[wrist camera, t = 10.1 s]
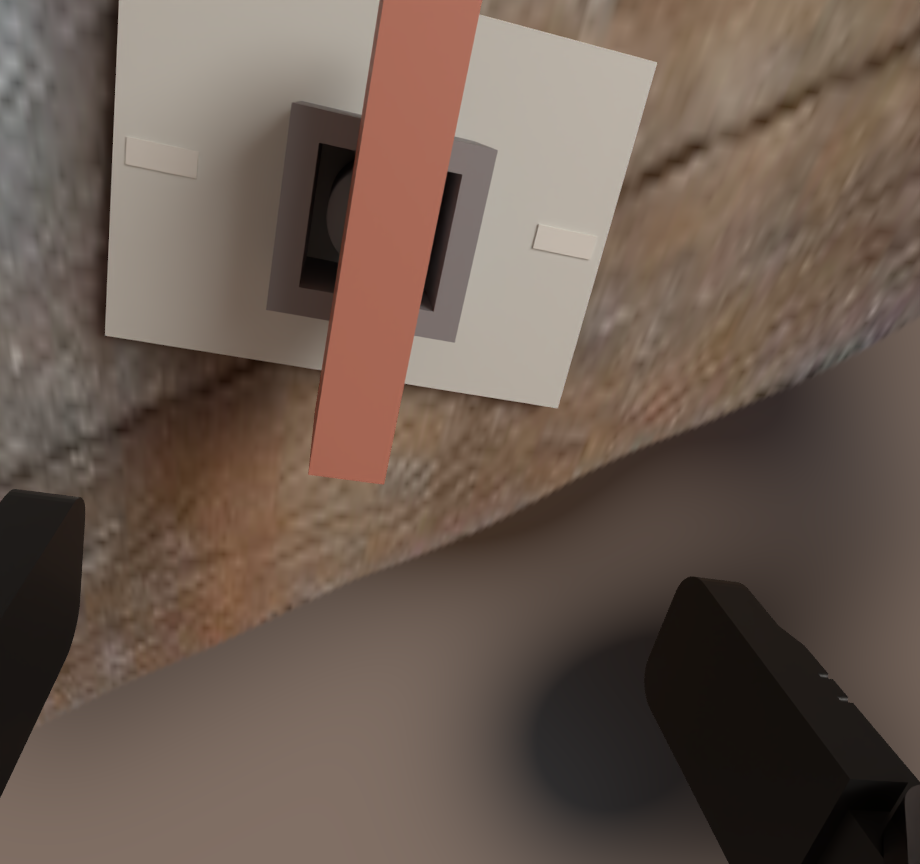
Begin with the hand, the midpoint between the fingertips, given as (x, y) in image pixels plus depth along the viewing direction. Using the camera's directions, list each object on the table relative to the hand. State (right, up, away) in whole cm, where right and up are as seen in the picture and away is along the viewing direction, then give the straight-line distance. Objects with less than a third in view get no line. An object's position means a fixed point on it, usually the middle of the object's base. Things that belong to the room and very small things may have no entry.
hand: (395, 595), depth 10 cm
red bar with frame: (-3, +11, +21) cm, 24 cm away
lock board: (-3, +12, +22) cm, 25 cm away
